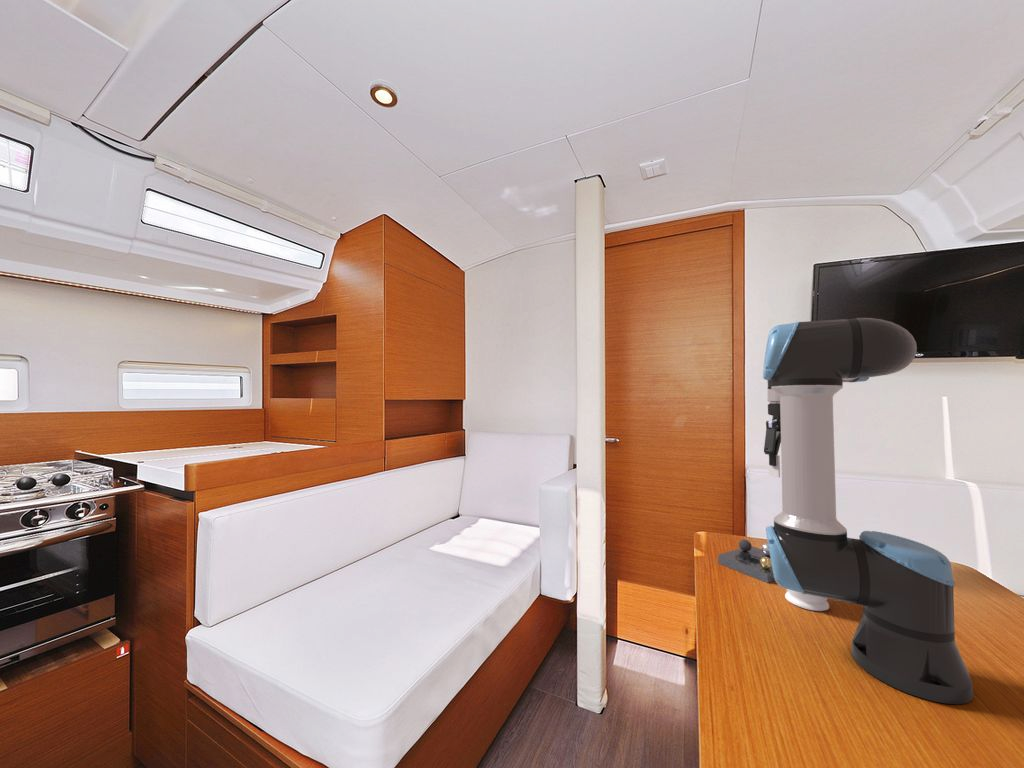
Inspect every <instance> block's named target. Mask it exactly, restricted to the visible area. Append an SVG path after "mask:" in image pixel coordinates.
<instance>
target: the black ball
mask: <svg viewBox="0 0 1024 768" xmlns="http://www.w3.org/2000/svg"><path fill="white" fill-rule="evenodd" d="M752 546H753V545H752V543H751V542H750V541H749V540H747V539H740V540H739V542H738V547H739V549H741V550H743V551H746V552H747V551H750V550H751V548H752Z"/></svg>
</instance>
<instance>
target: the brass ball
mask: <svg viewBox="0 0 1024 768" xmlns="http://www.w3.org/2000/svg"><path fill="white" fill-rule="evenodd" d="M760 565H761V566H762V567H763V568H765V569H770V568H771V567H772V564H771V559H769V558H768V557H762V558H761V559H760Z"/></svg>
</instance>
